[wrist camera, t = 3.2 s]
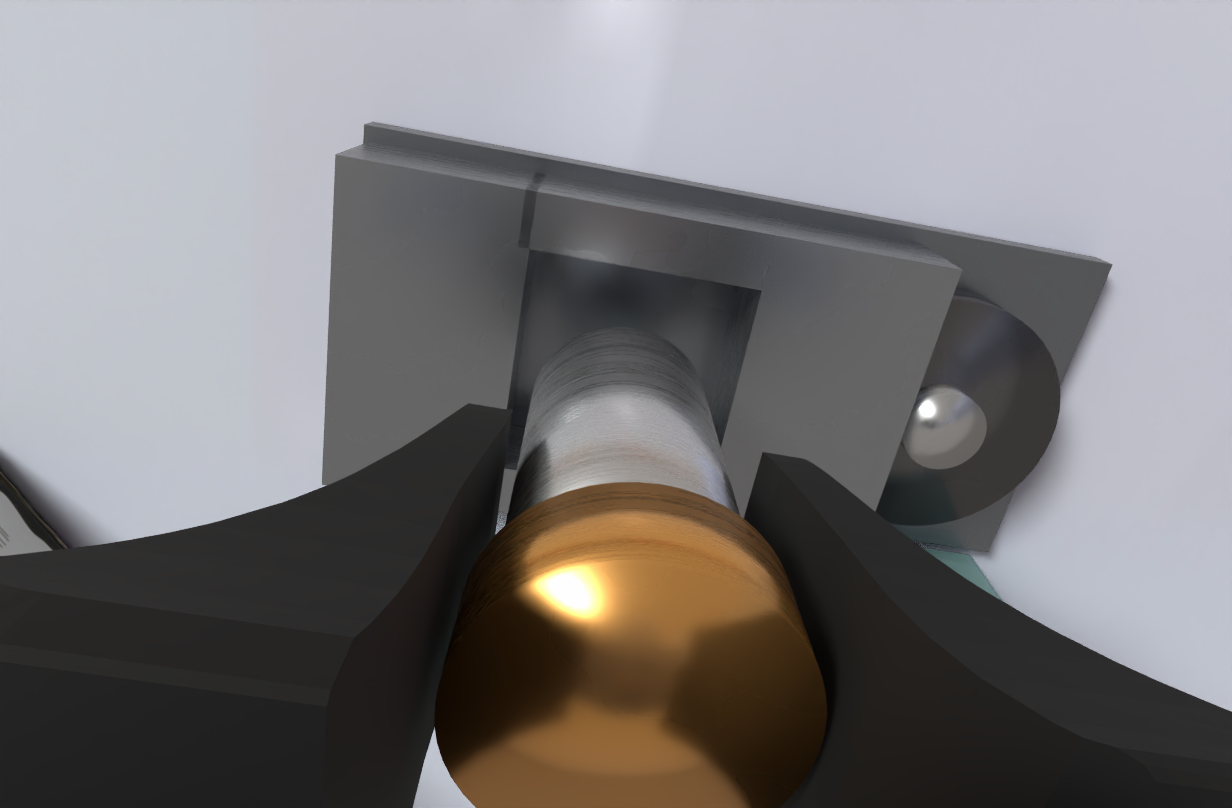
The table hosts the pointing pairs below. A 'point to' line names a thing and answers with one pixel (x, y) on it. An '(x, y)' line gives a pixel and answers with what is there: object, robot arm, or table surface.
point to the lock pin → (627, 610)
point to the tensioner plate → (699, 320)
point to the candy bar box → (22, 525)
